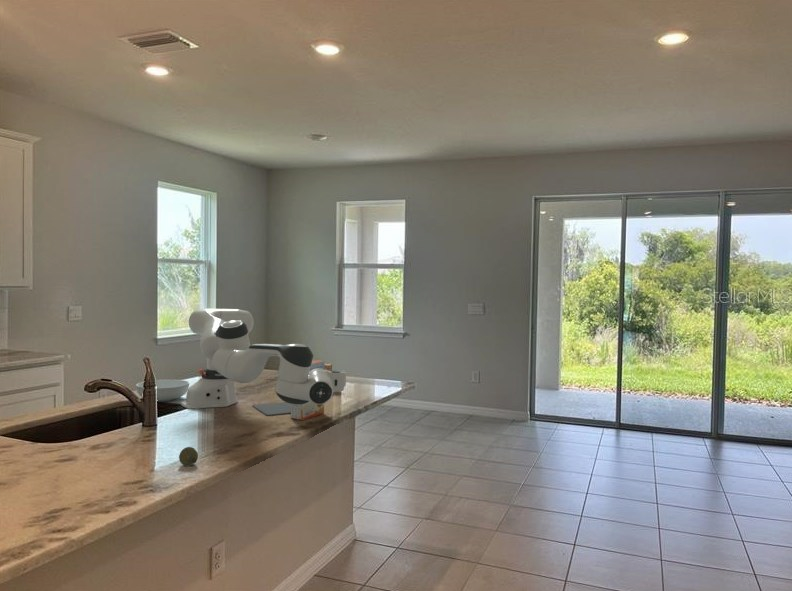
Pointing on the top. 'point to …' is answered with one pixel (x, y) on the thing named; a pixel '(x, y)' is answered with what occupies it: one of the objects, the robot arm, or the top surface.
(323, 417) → the top surface
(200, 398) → the robot arm
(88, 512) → the top surface
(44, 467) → the top surface
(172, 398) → the serving bowl
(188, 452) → the lime
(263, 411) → the mat
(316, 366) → the cracker box
